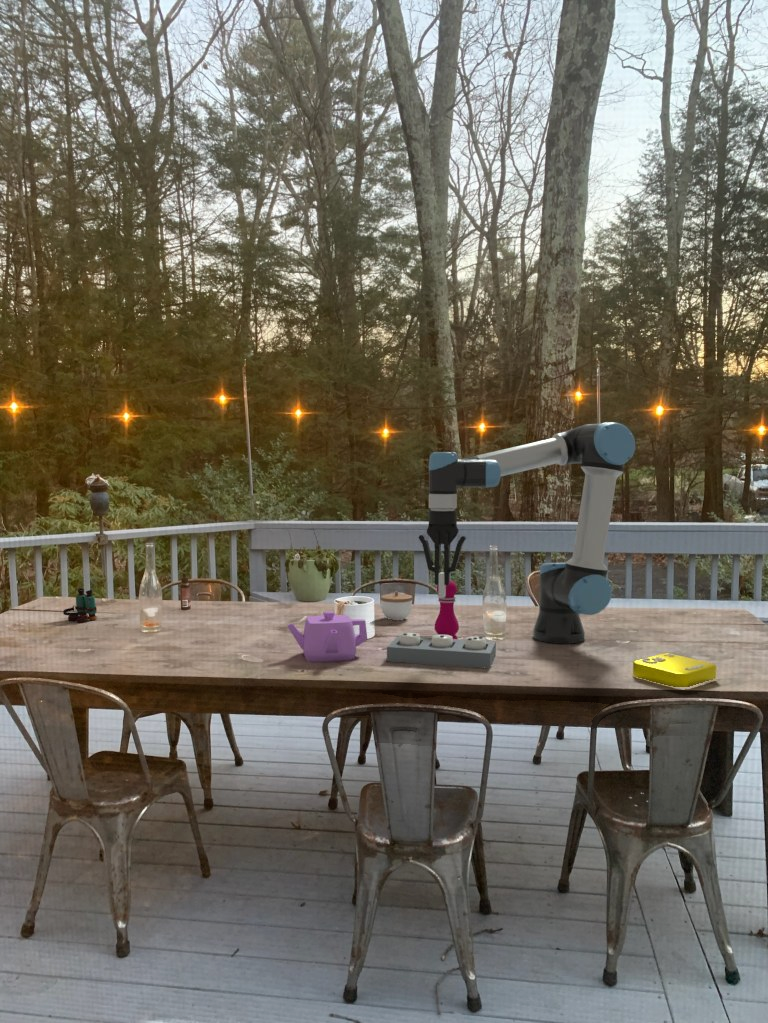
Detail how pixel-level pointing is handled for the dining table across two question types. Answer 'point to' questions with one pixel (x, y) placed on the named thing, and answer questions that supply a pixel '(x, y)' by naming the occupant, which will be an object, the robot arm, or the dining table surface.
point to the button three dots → (475, 643)
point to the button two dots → (410, 639)
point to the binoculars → (82, 607)
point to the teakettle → (329, 637)
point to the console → (441, 653)
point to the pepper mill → (447, 613)
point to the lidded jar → (396, 605)
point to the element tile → (674, 670)
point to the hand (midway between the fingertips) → (442, 596)
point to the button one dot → (442, 641)
